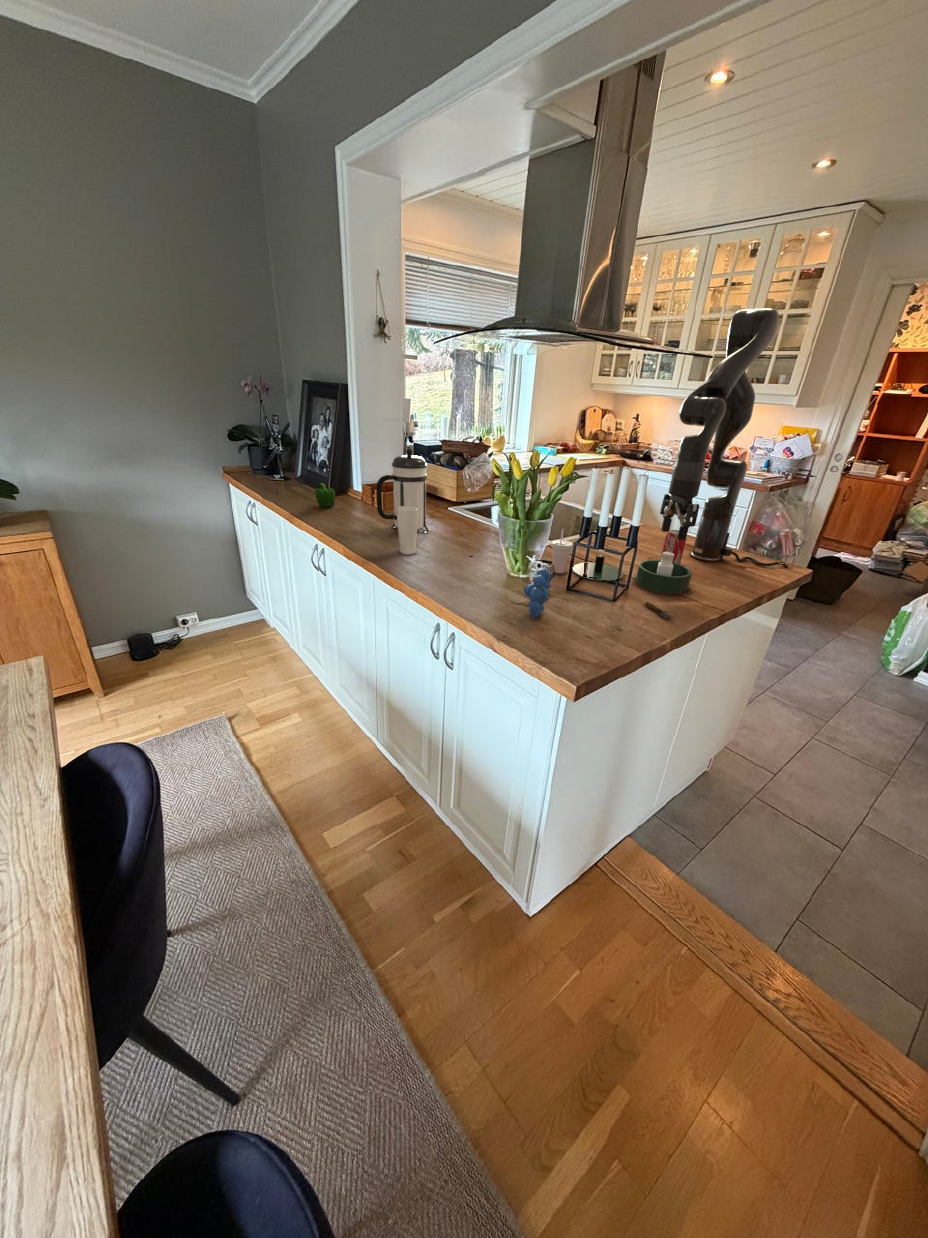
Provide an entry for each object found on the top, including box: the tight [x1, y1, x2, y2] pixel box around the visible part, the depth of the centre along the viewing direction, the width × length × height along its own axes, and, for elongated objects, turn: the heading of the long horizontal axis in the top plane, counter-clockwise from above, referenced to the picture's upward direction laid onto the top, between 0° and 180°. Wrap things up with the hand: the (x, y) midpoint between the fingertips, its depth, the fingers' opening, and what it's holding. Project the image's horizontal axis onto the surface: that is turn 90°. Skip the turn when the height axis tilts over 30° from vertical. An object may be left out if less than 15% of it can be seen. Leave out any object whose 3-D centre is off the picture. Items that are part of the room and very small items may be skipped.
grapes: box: [523, 567, 552, 618], centre depth 122 cm, size 12×7×12 cm, turn 156°
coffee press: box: [375, 448, 430, 534], centre depth 179 cm, size 17×16×30 cm
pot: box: [635, 559, 693, 595], centre depth 144 cm, size 15×15×6 cm
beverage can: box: [659, 529, 687, 564], centre depth 157 cm, size 6×6×12 cm
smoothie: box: [551, 528, 574, 574], centre depth 148 cm, size 6×6×14 cm
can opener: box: [645, 601, 671, 619], centre depth 127 cm, size 9×2×1 cm, turn 17°
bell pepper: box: [314, 482, 336, 509], centre depth 212 cm, size 8×8×10 cm
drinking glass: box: [397, 506, 418, 556], centre depth 160 cm, size 7×7×15 cm
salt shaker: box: [656, 552, 674, 576], centre depth 143 cm, size 4×4×10 cm
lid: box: [572, 553, 625, 583], centre depth 150 cm, size 16×16×6 cm
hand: (672, 535), depth 138 cm, fingers open, 8 cm apart
